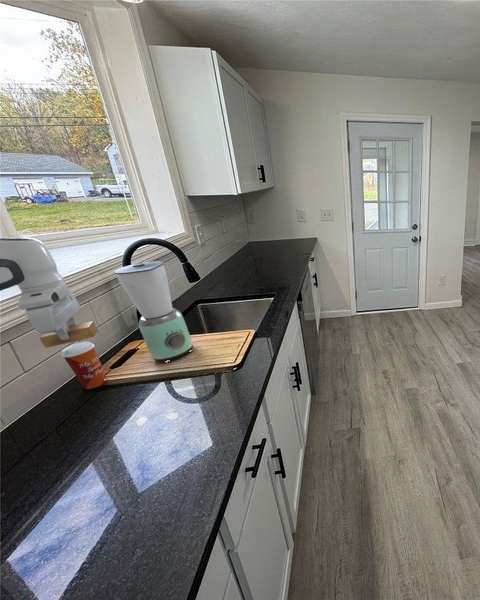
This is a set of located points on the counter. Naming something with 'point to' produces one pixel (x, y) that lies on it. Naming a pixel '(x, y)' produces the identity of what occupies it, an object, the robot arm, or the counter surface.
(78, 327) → the oak bar
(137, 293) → the juicer
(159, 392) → the counter surface
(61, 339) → the robot arm
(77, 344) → the paper cup
